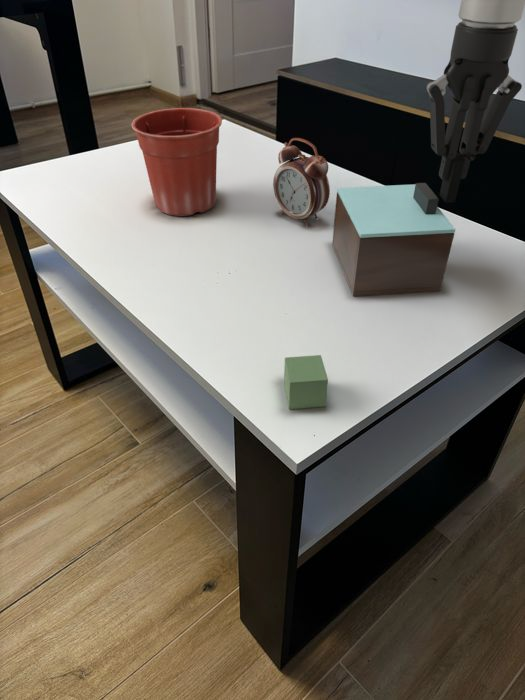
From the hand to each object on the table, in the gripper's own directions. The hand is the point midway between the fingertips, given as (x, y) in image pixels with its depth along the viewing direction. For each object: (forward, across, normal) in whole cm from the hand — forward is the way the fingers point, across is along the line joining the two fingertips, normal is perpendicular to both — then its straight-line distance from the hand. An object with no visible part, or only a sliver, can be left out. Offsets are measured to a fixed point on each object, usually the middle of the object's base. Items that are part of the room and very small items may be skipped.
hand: (447, 198), depth 84 cm
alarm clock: (+12, +20, -19) cm, 30 cm away
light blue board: (+2, +8, 0) cm, 9 cm away
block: (+12, +26, +29) cm, 41 cm away
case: (+12, +8, 0) cm, 14 cm away
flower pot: (+12, +42, -28) cm, 51 cm away
